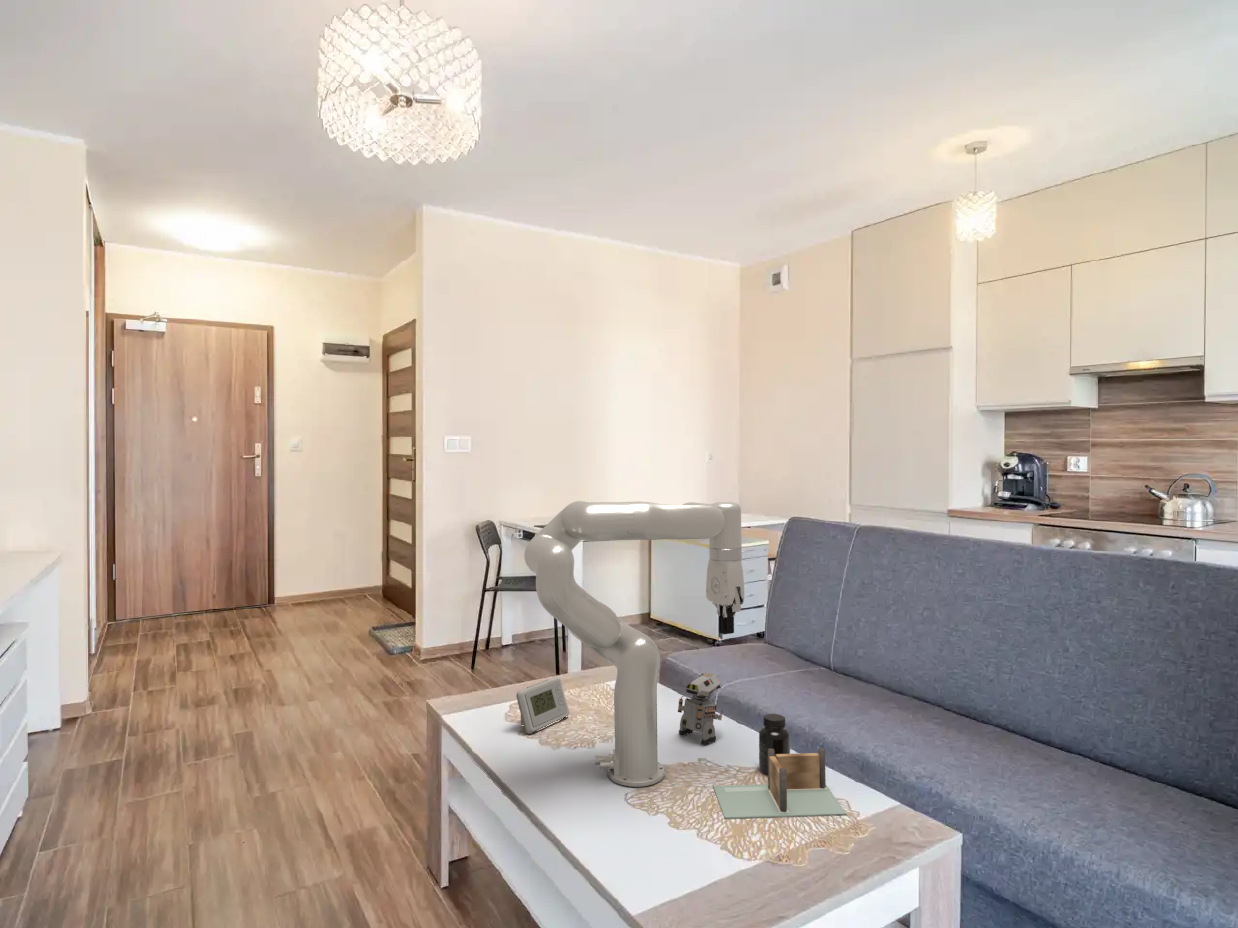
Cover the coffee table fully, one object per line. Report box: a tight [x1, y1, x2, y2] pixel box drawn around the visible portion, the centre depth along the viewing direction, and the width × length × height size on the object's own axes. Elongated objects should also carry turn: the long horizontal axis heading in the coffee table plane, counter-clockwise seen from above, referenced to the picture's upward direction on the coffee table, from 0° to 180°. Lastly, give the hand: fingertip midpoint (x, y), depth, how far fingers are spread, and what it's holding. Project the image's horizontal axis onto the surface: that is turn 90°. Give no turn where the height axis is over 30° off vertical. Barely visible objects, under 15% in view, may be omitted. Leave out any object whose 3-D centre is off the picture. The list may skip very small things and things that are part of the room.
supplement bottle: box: [758, 713, 791, 776], centre depth 155 cm, size 7×7×12 cm
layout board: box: [713, 783, 848, 820], centre depth 141 cm, size 24×13×1 cm, turn 92°
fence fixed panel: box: [776, 747, 827, 789], centre depth 146 cm, size 10×1×8 cm, turn 92°
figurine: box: [677, 672, 723, 746], centre depth 174 cm, size 9×12×15 cm
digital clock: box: [516, 676, 570, 734], centre depth 184 cm, size 16×9×11 cm, turn 131°
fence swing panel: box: [767, 749, 787, 812], centre depth 141 cm, size 11×1×8 cm, turn 2°
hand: (726, 632), depth 162 cm, fingers closed
